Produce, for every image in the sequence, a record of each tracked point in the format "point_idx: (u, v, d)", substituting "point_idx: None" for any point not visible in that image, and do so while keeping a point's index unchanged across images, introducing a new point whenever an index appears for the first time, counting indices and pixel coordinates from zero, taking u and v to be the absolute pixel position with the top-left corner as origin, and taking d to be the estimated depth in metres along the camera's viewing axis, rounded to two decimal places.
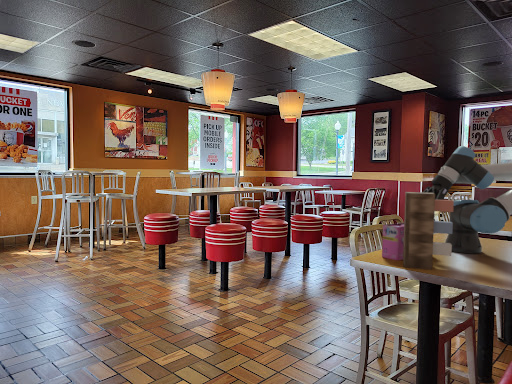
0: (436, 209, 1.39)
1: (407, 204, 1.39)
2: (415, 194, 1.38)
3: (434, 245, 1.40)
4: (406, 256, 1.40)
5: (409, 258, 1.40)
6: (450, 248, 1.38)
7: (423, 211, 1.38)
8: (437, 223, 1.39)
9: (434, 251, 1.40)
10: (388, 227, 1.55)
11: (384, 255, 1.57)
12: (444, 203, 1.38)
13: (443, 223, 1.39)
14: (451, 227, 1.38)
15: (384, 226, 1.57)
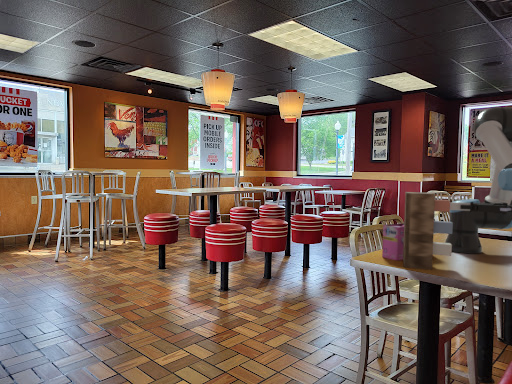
0: None
1: (407, 204, 1.39)
2: (415, 194, 1.38)
3: (434, 245, 1.40)
4: (406, 256, 1.40)
5: (409, 258, 1.40)
6: (450, 248, 1.38)
7: (423, 211, 1.38)
8: (437, 223, 1.39)
9: (434, 251, 1.40)
10: (388, 227, 1.55)
11: (384, 255, 1.57)
12: (440, 202, 1.39)
13: (443, 223, 1.39)
14: (451, 227, 1.38)
15: (384, 226, 1.57)
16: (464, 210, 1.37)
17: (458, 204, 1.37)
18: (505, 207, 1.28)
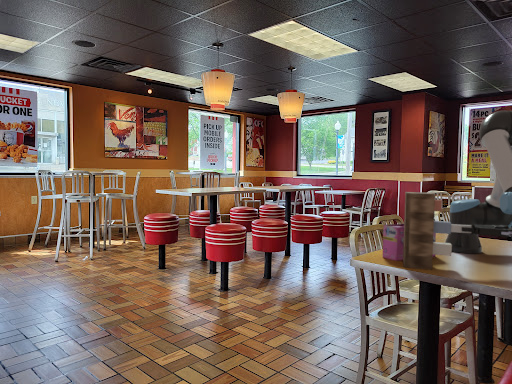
0: None
1: (407, 204, 1.39)
2: (415, 194, 1.38)
3: (434, 245, 1.40)
4: (406, 256, 1.40)
5: (409, 258, 1.40)
6: (450, 248, 1.38)
7: (423, 211, 1.38)
8: (435, 223, 1.39)
9: (434, 251, 1.40)
10: (388, 227, 1.55)
11: (384, 255, 1.57)
12: None
13: (441, 223, 1.39)
14: (449, 227, 1.38)
15: (384, 226, 1.57)
16: (465, 232, 1.37)
17: (459, 226, 1.38)
18: (506, 231, 1.28)
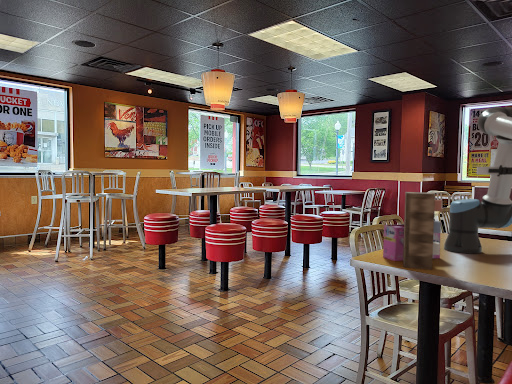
0: None
1: (407, 204, 1.39)
2: (415, 194, 1.38)
3: None
4: (406, 256, 1.40)
5: (409, 258, 1.40)
6: (438, 247, 1.39)
7: (423, 211, 1.38)
8: None
9: None
10: (388, 227, 1.54)
11: (384, 255, 1.56)
12: None
13: None
14: (439, 226, 1.39)
15: (385, 226, 1.56)
16: (492, 174, 1.34)
17: (486, 168, 1.34)
18: None
